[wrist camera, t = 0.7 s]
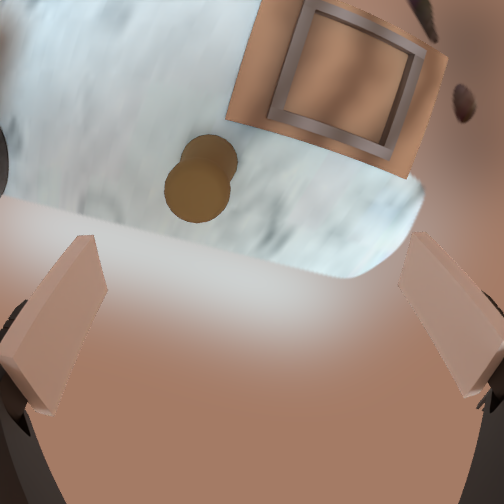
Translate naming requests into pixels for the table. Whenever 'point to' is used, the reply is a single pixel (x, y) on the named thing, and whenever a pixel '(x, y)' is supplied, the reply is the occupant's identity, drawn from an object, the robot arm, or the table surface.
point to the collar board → (338, 81)
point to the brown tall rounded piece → (201, 179)
